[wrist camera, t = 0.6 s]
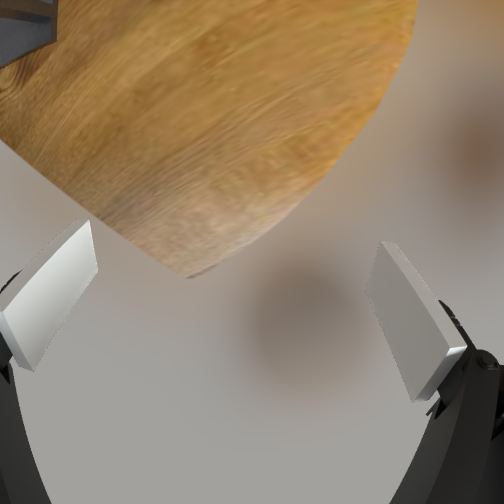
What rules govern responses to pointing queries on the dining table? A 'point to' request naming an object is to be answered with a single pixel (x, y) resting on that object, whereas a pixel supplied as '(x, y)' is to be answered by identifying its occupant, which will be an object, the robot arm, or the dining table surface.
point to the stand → (26, 27)
